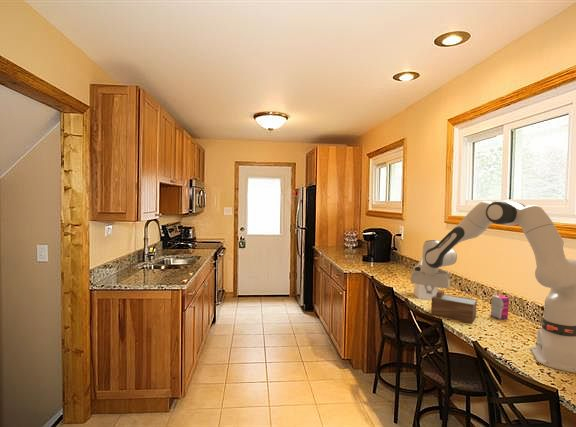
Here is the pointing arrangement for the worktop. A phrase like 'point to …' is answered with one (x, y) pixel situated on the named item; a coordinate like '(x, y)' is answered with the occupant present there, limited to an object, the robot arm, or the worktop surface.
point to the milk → (423, 289)
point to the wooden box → (453, 309)
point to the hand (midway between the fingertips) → (429, 293)
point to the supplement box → (499, 307)
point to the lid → (453, 298)
